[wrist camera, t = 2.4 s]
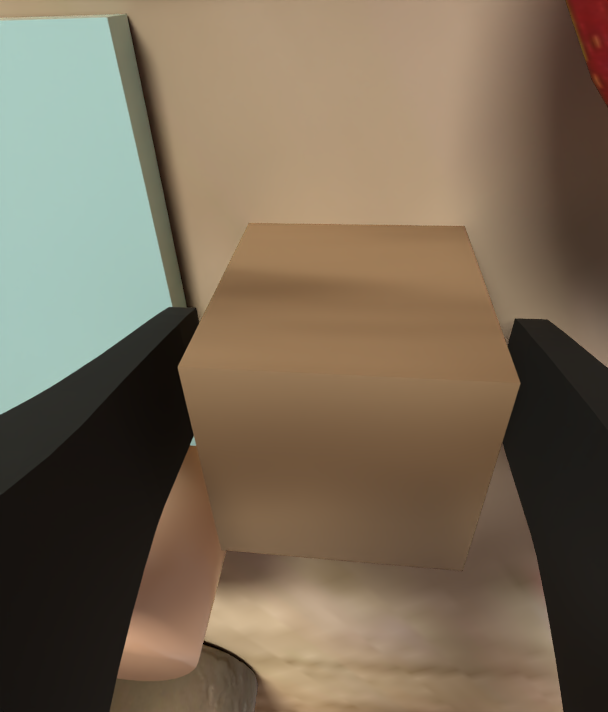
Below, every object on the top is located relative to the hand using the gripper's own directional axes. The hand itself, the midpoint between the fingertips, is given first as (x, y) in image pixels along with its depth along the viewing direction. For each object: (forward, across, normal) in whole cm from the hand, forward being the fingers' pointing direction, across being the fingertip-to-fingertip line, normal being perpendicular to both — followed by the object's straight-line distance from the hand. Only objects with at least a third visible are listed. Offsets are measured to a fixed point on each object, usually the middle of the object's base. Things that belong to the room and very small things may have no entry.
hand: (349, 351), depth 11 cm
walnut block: (+2, 0, 0) cm, 2 cm away
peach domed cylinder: (+2, +6, +7) cm, 9 cm away
